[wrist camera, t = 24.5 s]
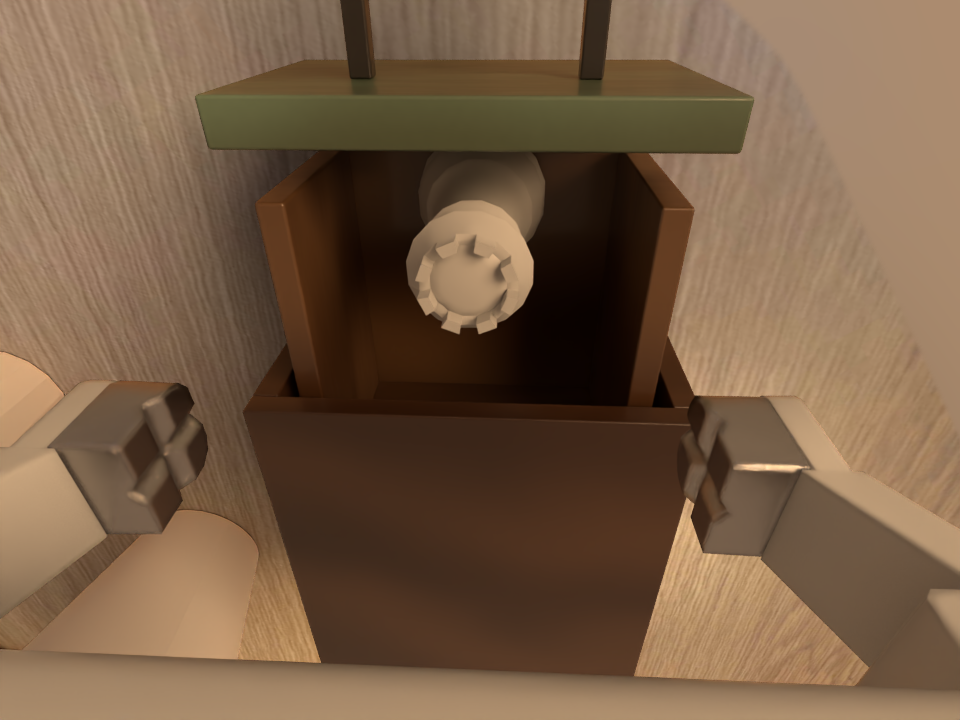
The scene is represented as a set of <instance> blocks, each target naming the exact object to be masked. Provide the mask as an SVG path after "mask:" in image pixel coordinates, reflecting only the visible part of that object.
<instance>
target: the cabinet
mask: <svg viewBox="0 0 960 720" xmlns="http://www.w3.org/2000/svg"><path fill="white" fill-rule="evenodd" d="M693 398H694V393H693V391H692V389H691V387H690V384H689V382H688V380H687V378H686V376H685V373H684V371H683V369H682V367H681V364H680V362H679V360H678V358H677V355H676V353H675V351H674V349H673V346H672V344H671V342H670V340H669V338H668V335H667V340H666V344H665V349H664V354H663V358H662V363H661V368H660V372H659V377H658V381H657V386H656V391H655V395H654V400H653V405H652V407H625V406H590V405H555V404H520V403H485V402H450V401H415V400H380V399H345V398H310V397H300V396H299V392H298V388H297V383H296V379H295V375H294V370H293V366H292V362H291V358H290V353H289V349H288V345H287V343H286V345H285V346H284V348H283V350H282V351H281V353H280V354H279V356H278V357H277V359H276V360H275V362H274V363H273V365H272V367H271V368H270V370H269V371H268V373H267V374H266V376H265V377H264V379H263V380H262V382H261V383H260V385H259V387H258V388H257V390H256V391H255V393H254V394H253V397H252V398H251V399H250V401H249V402H248V404H247V405H246V407H245V408H244V410H243V414H244V418H245V421H246V424H247V427H248V430H249V434H250V437H251V440H252V443H253V446H254V450H255V453H256V456H257V459H258V462H259V465H260V469H261V472H262V475H263V478H264V481H265V485H266V488H267V491H268V494H269V497H270V501H271V504H272V507H273V510H274V513H275V517H276V520H277V523H278V526H279V529H280V533H281V536H282V539H283V542H284V545H285V549H286V552H287V555H288V558H289V561H290V565H291V568H292V571H293V574H294V577H295V580H296V584H297V587H298V590H299V593H300V596H301V600H302V603H303V606H304V609H305V612H306V616H307V619H308V622H309V625H310V628H311V632H312V635H313V638H314V641H315V644H316V648H317V651H318V654H319V657H320V660H321V663H332V664H355V665H379V666H402V667H425V668H448V669H472V670H495V671H519V672H542V673H565V674H589V675H612V676H634V673H635V670H636V667H637V663H638V660H639V656H640V653H641V650H642V646H643V643H644V639H645V636H646V633H647V629H648V626H649V622H650V619H651V616H652V612H653V609H654V605H655V602H656V599H657V595H658V592H659V589H660V585H661V582H662V578H663V575H664V572H665V568H666V565H667V561H668V558H669V555H670V551H671V548H672V544H673V541H674V538H675V534H676V531H677V527H678V524H679V521H680V517H681V514H682V510H683V507H684V504H685V500H686V496H684V495H683V493H682V489H681V486H680V483H679V479H678V473H677V451H678V447H679V443H680V438H681V436H682V435H684V434H685V433H686V432H687V431H689V430H690V429H691V425H690V423H689V420H688V418H687V413H688V409H689V406H690V403H691V401H692V400H693Z"/></svg>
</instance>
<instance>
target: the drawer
mask: <svg viewBox="0 0 960 720" xmlns="http://www.w3.org/2000/svg"><path fill="white" fill-rule="evenodd" d="M340 1H341V9H342V18H343V26H344V34H345V42H346V51H347V59H348V60H303V61H300V62H297V63H294V64H290V65H287V66H284V67H281V68H278V69H275V70H272V71H269V72H266V73H263V74H259V75H256V76H253V77H250V78H247V79H244V80H241V81H238V82H235V83H232V84H228V85H225V86H222V87H219V88H216V89H213V90H210V91H207V92H204V93H200V94H198V95H196V96H195V100H196V104H197V107H198V111H199V115H200V119H201V122H202V126H203V130H204V134H205V137H206V141H207V145H208V147H209V149H212V150H314V151H318V152H317V153H316V154H315V155H313V156H312V157H311V158H310V159H308V160H307V161H306V162H305V163H304V164H302V165H301V166H300V167H299V168H297V169H296V170H295V171H294V172H292V173H291V174H290V175H289V176H288V177H286V178H285V179H284V180H283V181H281V182H280V183H279V184H278V185H276V186H275V187H274V188H273V189H272V190H270V191H269V192H268V193H267V194H265V195H264V196H263V197H262V198H260V199H259V200H258V201H257V202H256V203H255V209H256V213H257V217H258V221H259V226H260V230H261V234H262V238H263V243H264V247H265V251H266V255H267V260H268V264H269V268H270V272H271V277H272V281H273V285H274V289H275V294H276V298H277V302H278V307H279V311H280V315H281V319H282V324H283V328H284V332H285V336H286V341H287V345H288V349H289V353H290V358H291V362H292V366H293V370H294V375H295V379H296V383H297V388H298V392H299V396H300V397H310V398H345V399H380V400H415V401H450V402H485V403H520V404H555V405H590V406H625V407H652V405H653V400H654V395H655V391H656V386H657V381H658V377H659V372H660V368H661V363H662V358H663V354H664V349H665V344H666V340H667V335H668V331H669V326H670V321H671V317H672V312H673V307H674V303H675V298H676V293H677V289H678V284H679V280H680V275H681V270H682V266H683V261H684V256H685V252H686V247H687V243H688V238H689V233H690V229H691V224H692V219H693V215H694V207H693V206H692V205H691V204H690V203H689V201H688V200H687V199H686V198H685V197H684V195H683V194H682V193H681V192H680V191H679V189H678V188H677V187H676V186H675V185H674V183H673V182H672V181H671V180H670V179H669V177H668V176H667V175H666V174H665V173H664V171H663V170H662V169H661V168H660V167H659V165H658V164H657V163H656V162H655V161H654V159H653V158H652V157H651V156H650V155H649V153H692V154H738V153H740V152H741V150H742V147H743V143H744V139H745V135H746V131H747V127H748V123H749V119H750V115H751V111H752V107H753V103H754V97H752V96H750V95H747V94H745V93H743V92H740V91H738V90H736V89H734V88H731V87H729V86H727V85H724V84H722V83H720V82H718V81H715V80H713V79H711V78H708V77H706V76H704V75H702V74H699V73H697V72H695V71H692V70H690V69H688V68H686V67H683V66H681V65H679V64H676V63H674V62H672V61H670V60H605V58H606V49H607V40H608V31H609V21H610V12H611V3H612V0H584V12H583V23H582V35H581V47H580V59H579V60H374V50H373V40H372V30H371V19H370V9H369V0H340ZM434 151H440V152H531V153H532V154H533V155H534V156H535V157H536V159H537V161H538V164H539V166H540V169H541V172H542V174H543V177H544V180H545V198H544V209H543V216H542V218H541V220H540V222H539V224H538V227H537V229H536V231H535V233H534V235H533V237H532V238H531V239H530V240H529V241H528V242H527V243H526V244H527V247H528V249H529V251H530V254H531V256H532V259H533V261H534V262H533V285H532V287H531V289H530V291H529V293H528V295H527V297H526V300H525V302H524V304H523V305H522V306H521V307H520V308H519V309H518V310H516V311H515V312H514V313H513V314H512V315H511V316H510V317H508V318H507V319H506V320H504V321H501V322H498V323H497V328H495V329H492V330H490V331H487V332H484V333H481V334H479V333H478V329H477V328H460V334H457V333H454V332H452V331H449V330H446V329H443V328H441V326H442V321H440V320H438V319H437V318H435V317H434V316H433V315H432V314H431V313H430V314H428V315H426V314H425V313H424V311H423V309H422V307H421V306H420V304H419V302H418V300H417V299H416V297H415V295H414V293H413V292H412V290H411V288H410V286H409V284H408V275H407V266H406V260H407V257H408V254H409V251H410V248H411V245H412V242H413V239H414V238H415V237H416V236H417V235H418V234H419V233H420V232H421V231H422V230H423V229H424V227H425V224H424V222H423V220H422V218H421V215H420V205H419V194H418V190H419V187H420V181H421V178H422V175H423V172H424V169H425V165H426V162H427V159H428V158H429V157H430V156H431V155H432V153H433V152H434Z"/></svg>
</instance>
